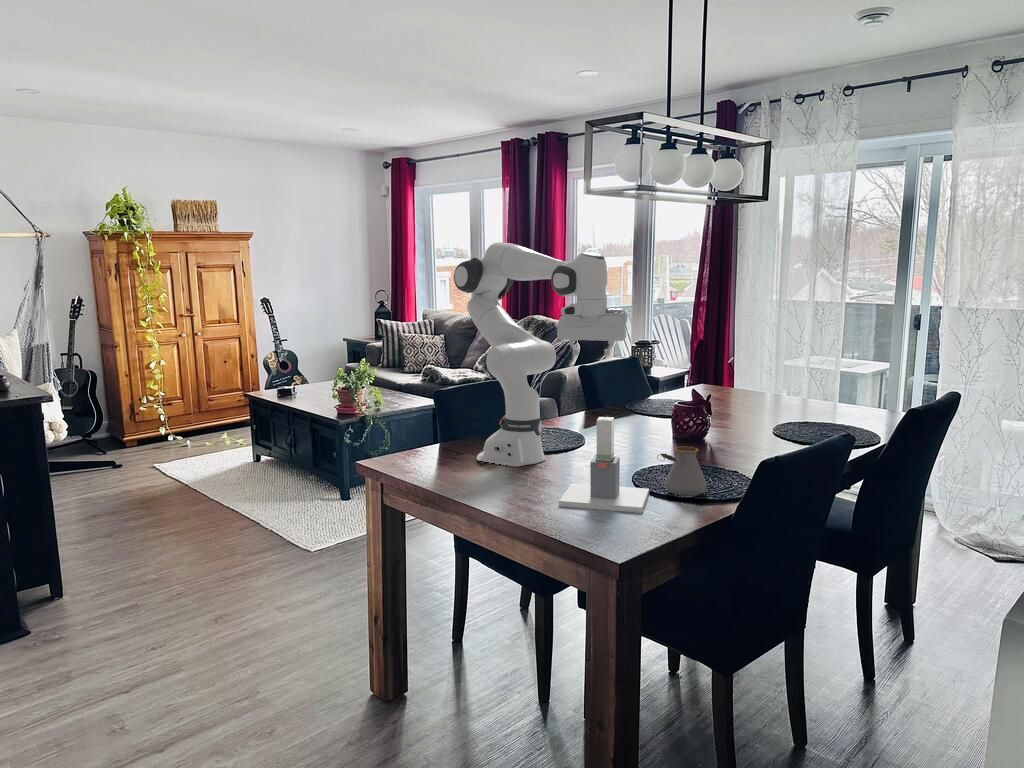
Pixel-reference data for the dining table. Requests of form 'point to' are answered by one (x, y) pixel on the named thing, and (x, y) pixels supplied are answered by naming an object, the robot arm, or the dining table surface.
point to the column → (605, 439)
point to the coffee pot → (685, 473)
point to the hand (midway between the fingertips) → (591, 355)
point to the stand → (605, 490)
